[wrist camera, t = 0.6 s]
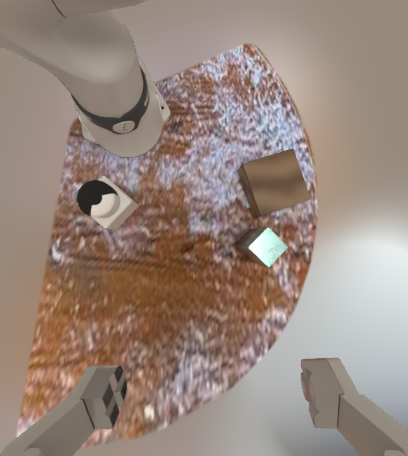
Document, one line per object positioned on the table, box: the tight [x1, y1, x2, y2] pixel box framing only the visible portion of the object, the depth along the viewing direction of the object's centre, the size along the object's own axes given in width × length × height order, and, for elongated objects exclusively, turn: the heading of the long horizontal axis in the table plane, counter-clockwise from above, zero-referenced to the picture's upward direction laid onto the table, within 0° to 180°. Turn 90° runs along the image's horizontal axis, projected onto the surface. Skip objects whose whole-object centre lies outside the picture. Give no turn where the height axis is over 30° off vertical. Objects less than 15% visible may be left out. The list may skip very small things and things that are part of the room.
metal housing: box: [235, 227, 288, 268], centre depth 48 cm, size 5×5×11 cm
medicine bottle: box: [77, 176, 138, 230], centre depth 46 cm, size 7×7×12 cm
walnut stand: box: [238, 148, 310, 218], centre depth 52 cm, size 11×11×5 cm
